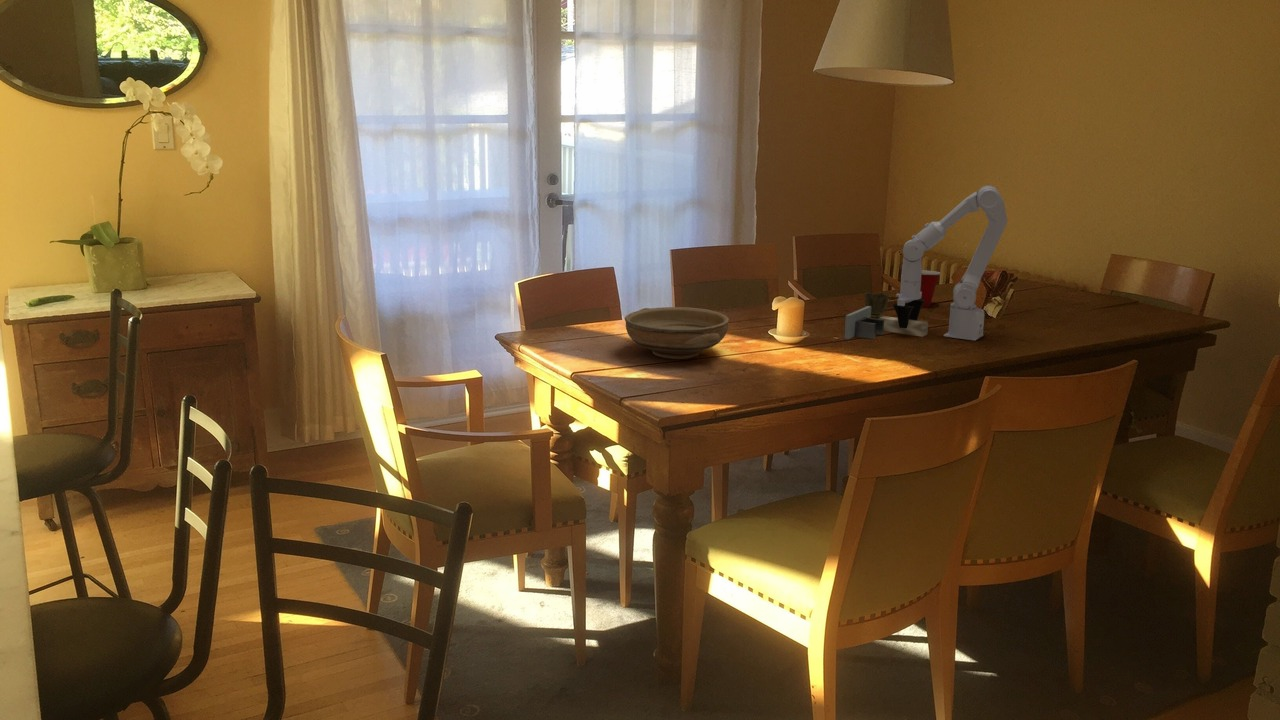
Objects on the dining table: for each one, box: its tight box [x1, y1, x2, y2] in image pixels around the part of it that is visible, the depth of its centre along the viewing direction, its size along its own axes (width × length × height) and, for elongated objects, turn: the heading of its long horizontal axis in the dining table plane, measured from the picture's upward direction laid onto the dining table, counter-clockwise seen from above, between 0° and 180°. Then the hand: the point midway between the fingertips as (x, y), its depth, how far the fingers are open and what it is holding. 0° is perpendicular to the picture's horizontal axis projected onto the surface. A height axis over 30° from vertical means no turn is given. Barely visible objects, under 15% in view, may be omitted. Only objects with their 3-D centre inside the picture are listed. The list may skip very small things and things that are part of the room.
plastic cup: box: [920, 269, 942, 308], centre depth 340 cm, size 11×11×12 cm
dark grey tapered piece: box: [864, 291, 890, 319], centre depth 321 cm, size 8×7×8 cm
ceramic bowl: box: [624, 306, 730, 360], centre depth 279 cm, size 37×29×10 cm
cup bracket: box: [853, 317, 884, 340], centre depth 299 cm, size 6×7×4 cm
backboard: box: [844, 306, 871, 340], centre depth 301 cm, size 1×16×7 cm, turn 145°
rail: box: [879, 315, 929, 338], centre depth 304 cm, size 14×4×4 cm, turn 53°
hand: (907, 325), depth 303 cm, fingers open, 7 cm apart
